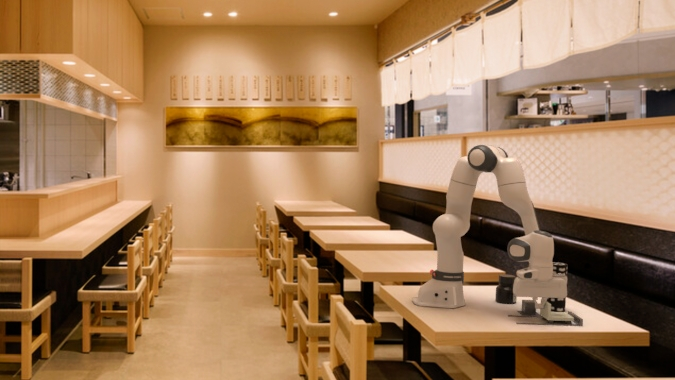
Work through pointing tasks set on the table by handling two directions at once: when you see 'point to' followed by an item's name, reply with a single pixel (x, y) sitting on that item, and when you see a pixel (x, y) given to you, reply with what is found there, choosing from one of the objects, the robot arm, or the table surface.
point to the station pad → (528, 315)
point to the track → (576, 320)
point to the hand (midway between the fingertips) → (539, 308)
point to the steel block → (528, 307)
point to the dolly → (554, 314)
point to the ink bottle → (505, 290)
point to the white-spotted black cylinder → (561, 268)
